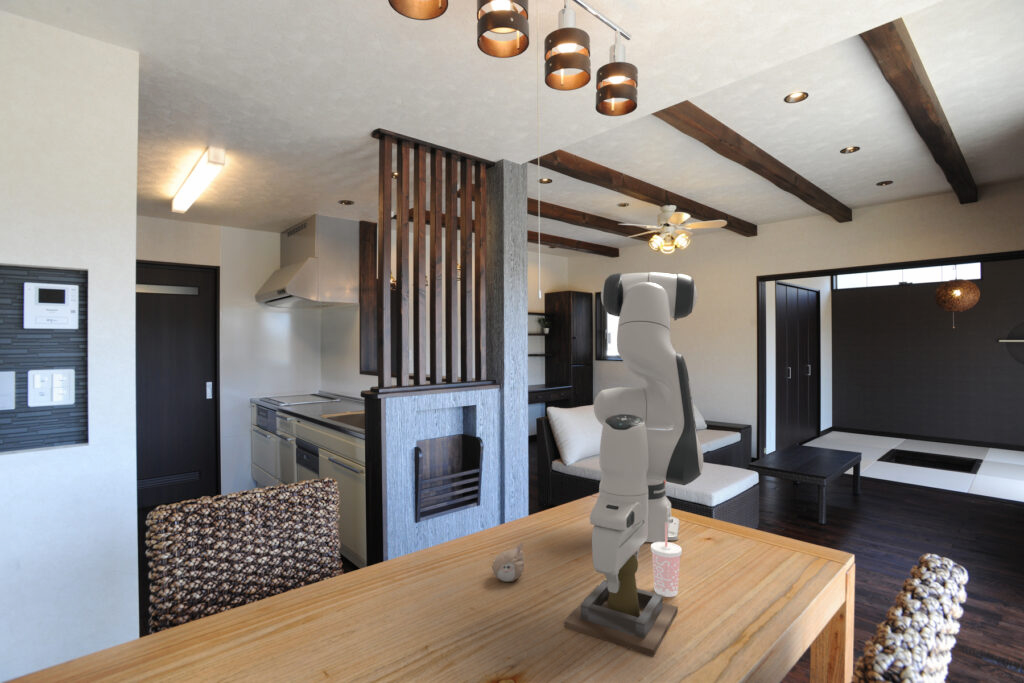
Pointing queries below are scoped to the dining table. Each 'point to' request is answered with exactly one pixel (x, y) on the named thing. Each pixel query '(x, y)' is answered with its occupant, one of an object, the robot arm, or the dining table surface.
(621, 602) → the olive pawn peg
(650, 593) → the socket base
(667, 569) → the beverage cup
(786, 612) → the dining table surface
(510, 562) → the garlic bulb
